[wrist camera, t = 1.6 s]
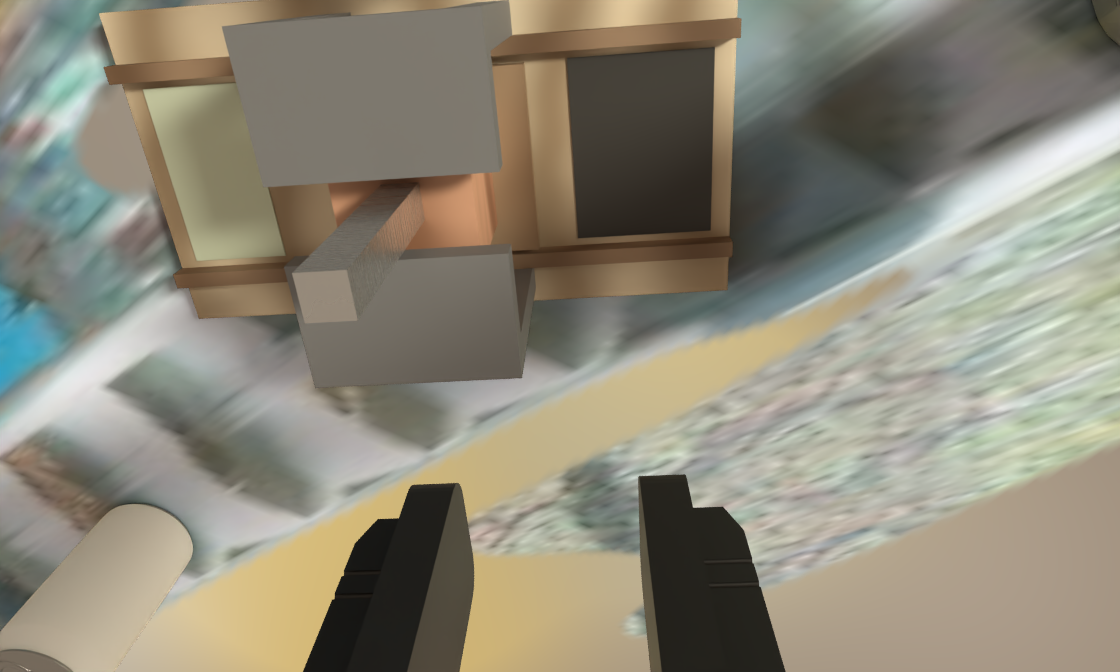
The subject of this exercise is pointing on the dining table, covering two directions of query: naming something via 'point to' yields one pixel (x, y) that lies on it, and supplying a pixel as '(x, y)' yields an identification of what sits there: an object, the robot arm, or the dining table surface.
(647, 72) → the tunnel track
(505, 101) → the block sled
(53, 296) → the dining table surface
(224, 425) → the dining table surface
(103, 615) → the can
